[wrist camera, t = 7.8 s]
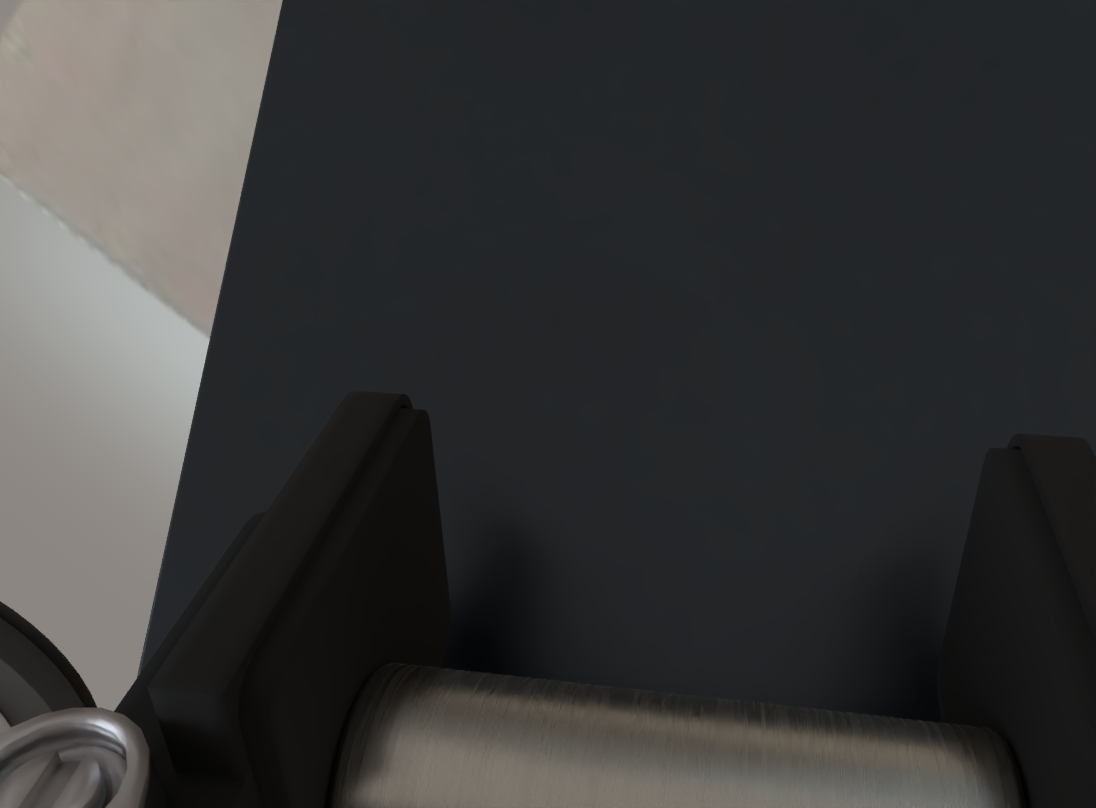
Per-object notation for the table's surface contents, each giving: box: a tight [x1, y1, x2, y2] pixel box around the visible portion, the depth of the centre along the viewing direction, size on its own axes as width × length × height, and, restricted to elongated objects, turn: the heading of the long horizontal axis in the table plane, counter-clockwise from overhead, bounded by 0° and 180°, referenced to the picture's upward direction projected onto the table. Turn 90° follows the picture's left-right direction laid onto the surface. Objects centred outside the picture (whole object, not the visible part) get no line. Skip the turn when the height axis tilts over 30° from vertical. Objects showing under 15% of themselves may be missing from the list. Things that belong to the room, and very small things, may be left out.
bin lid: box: [137, 0, 1096, 808], centre depth 11 cm, size 16×14×5 cm
